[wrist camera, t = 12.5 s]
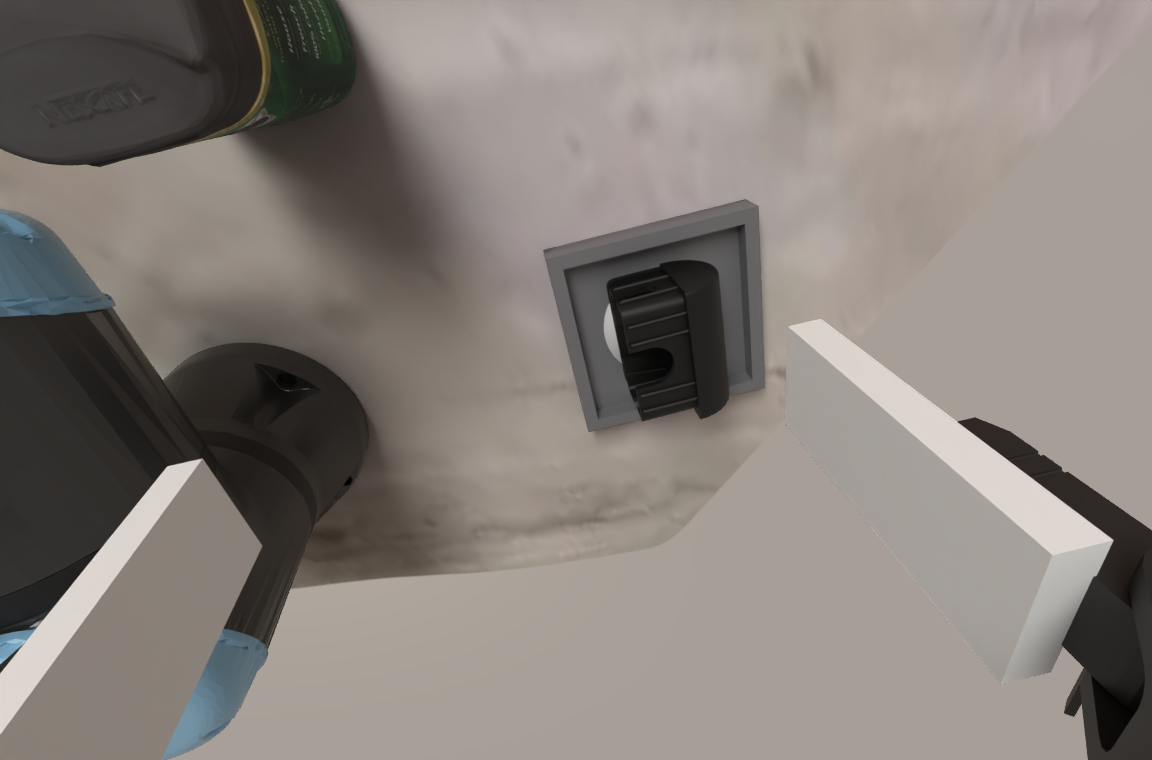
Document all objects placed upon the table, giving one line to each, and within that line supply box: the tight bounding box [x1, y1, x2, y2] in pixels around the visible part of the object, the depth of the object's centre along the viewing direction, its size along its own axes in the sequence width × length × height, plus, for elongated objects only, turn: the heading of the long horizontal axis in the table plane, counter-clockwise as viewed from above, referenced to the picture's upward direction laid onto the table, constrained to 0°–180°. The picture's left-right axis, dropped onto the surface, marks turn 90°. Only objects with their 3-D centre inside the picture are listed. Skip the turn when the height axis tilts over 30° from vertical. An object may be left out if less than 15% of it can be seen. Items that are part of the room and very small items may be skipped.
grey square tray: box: [543, 199, 765, 432], centre depth 42 cm, size 15×15×2 cm
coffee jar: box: [0, 0, 356, 167], centre depth 23 cm, size 10×8×19 cm
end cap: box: [606, 260, 730, 421], centre depth 39 cm, size 10×7×7 cm
